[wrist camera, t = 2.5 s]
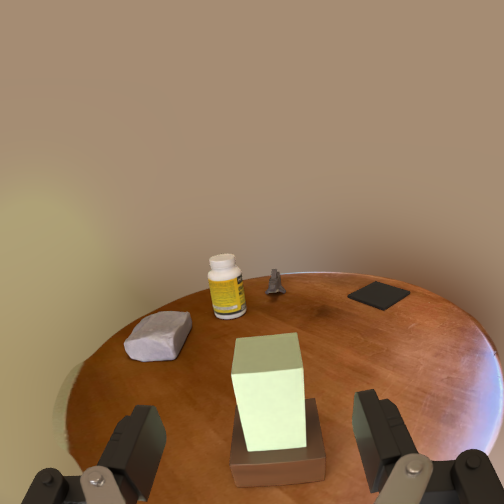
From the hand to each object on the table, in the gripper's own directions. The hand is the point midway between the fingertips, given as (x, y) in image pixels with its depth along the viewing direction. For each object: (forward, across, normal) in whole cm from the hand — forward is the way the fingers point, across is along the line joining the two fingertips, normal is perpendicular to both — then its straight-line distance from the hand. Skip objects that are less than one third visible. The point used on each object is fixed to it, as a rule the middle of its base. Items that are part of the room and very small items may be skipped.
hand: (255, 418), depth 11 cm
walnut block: (+11, 0, -17) cm, 20 cm away
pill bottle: (+46, -8, -17) cm, 49 cm away
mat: (+45, +21, -17) cm, 53 cm away
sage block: (+11, 0, -13) cm, 17 cm away
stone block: (+36, -19, -17) cm, 44 cm away
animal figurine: (+54, +1, -17) cm, 56 cm away
